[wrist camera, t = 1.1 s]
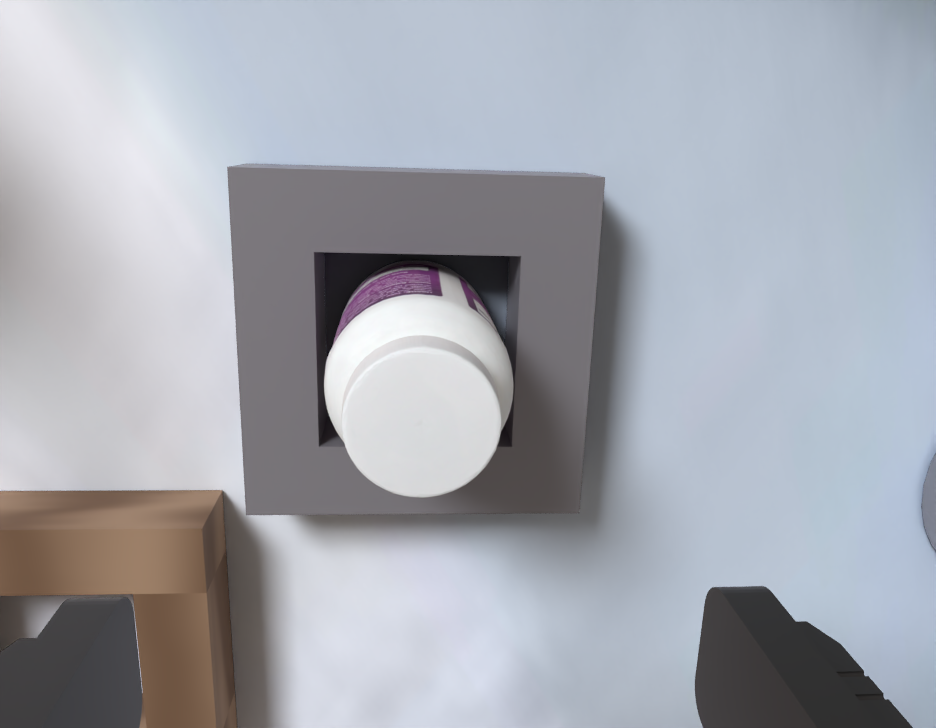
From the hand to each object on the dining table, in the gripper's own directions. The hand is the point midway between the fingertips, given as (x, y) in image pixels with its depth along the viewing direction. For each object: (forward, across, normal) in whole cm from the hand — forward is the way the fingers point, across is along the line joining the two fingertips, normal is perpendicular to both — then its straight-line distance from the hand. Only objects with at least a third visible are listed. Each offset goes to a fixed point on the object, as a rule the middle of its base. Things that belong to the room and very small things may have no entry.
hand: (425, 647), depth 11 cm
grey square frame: (+18, 0, 0) cm, 18 cm away
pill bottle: (+18, 0, 0) cm, 18 cm away
